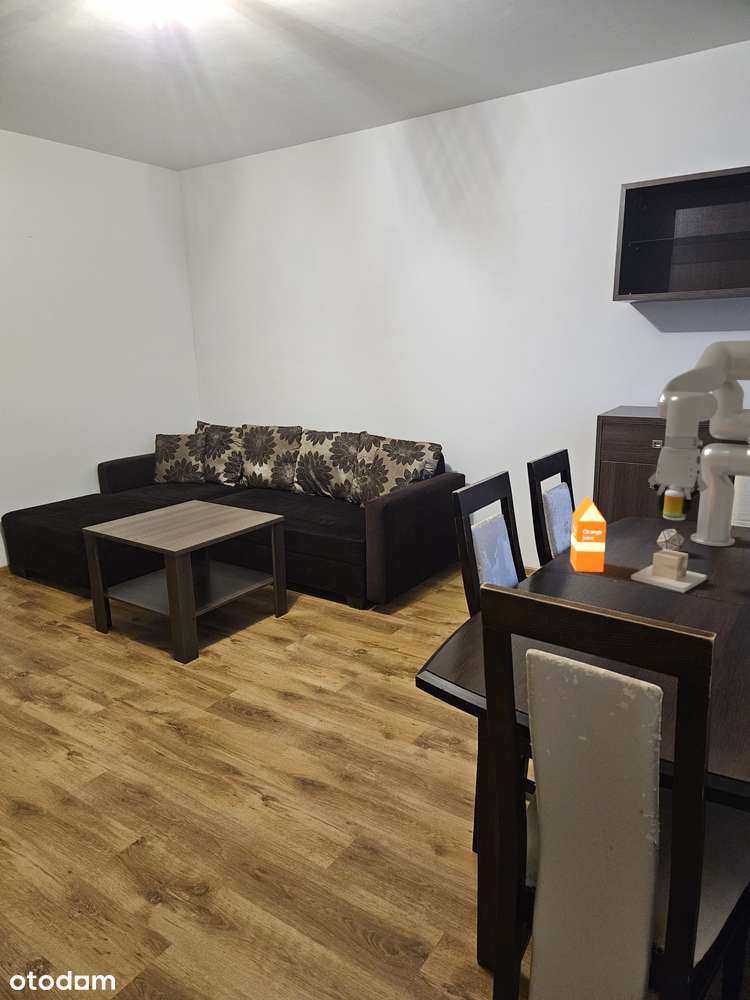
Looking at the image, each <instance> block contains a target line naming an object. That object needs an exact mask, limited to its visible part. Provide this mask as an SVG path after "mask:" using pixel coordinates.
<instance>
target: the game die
mask: <svg viewBox="0 0 750 1000" xmlns="http://www.w3.org/2000/svg"><path fill="white" fill-rule="evenodd" d="M660 530H661V532H660V533H658V537H657V540H655V541H653V544H654V545H655V544H656V545H657V546H658V547H660V548H661V550H663V549H668V550H672V551H677V552H680V550H681V549H683V544H684V542H685V541H686V540H688V539H689V537H684V536H683V535H682V534H681V533H680V530H676V526H673V528H668V529H664V528H663V527H660Z"/></svg>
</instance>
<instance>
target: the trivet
mask: <svg viewBox="0 0 750 1000" xmlns="http://www.w3.org/2000/svg"><path fill="white" fill-rule="evenodd" d="M652 566H653V564H651V565H649V566H647V567H644V568H642V569H641V570H639V571H637V572H635V573H633V574H631V577H630V579H631V580H634V581H636V582H641V583H645V584H648V585H652V586H656V587H660V588H665V589H667V590H673V591H676V592H679V593H683V594H684V593H686V592H687V591H690V590H691V589H692V588H695V587H696V586H698V585H699V584H701V583H702V582H704V581H706V580H707V577H708V575H706V574H703V573H699V572H694V571H690V570H687V571H686V575H685V576H684V577H682V578H680V579H678V580H676V581H674V580H670V579H666V578H662V577H658V576H654V575H652Z"/></svg>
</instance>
